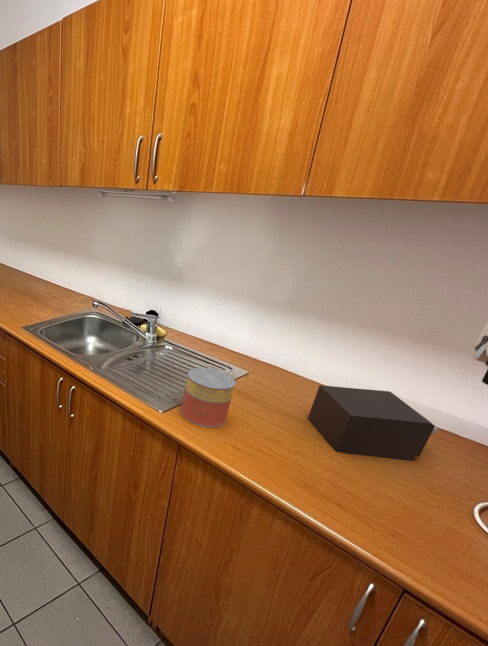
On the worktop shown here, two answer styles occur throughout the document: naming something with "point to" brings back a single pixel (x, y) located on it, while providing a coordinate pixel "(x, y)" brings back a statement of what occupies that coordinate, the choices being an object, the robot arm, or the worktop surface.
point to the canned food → (207, 397)
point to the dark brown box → (368, 422)
